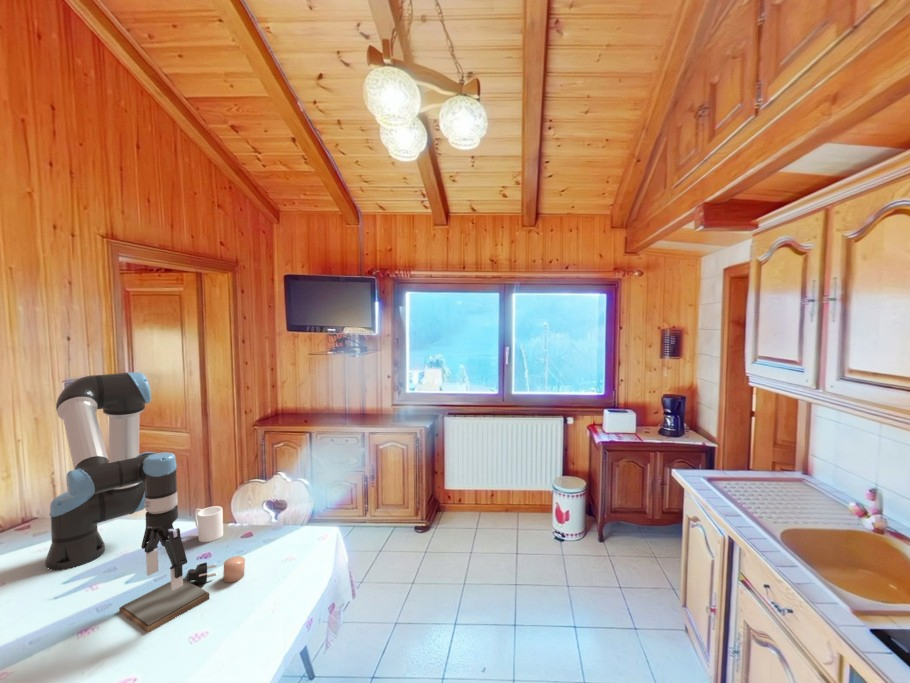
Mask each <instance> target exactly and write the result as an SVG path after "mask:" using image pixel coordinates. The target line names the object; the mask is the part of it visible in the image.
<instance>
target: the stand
mask: <svg viewBox="0 0 910 683" xmlns="http://www.w3.org/2000/svg"><path fill="white" fill-rule="evenodd" d="M208 600H210V593H209V592H208V591H206V590H204V589H203V588H201V587H199V586H197V585H196V584H194V583H192V582H191V581H190V582H188V579H185V578H183V586H181V587H179V588H177V589H175V590H173V591H172V590H171V580H170V581H168V582H166V583H165V584H162V585H160V586H158V587H157V588H155V589H152V590H151V591H149V592H147V593H145V594H143V595H141V596H139V597H137V598H135V599H132V600H131V601H129V602H128V603H127V602H126V603H125V604H123V605H122V606H120V607H119V613H120V614H122V615H123V616H125V617H126V618H127V619H129V620H130V621H131V622H132V623H134V624H135V625H136V626H137V627H138V628H140V629H142V630H143V631H144V632H145V633H147V634H149V633H150V632H152V631H155V630H156V629H158V628H160V627H162V626H163V625H165V624H167V623H170V622H171V621H172V620H174V619H176V618H178V617H180V616H181V615H183V614H185V613H187V612H189V611H190V610H192V609H194V608H196V607H197V606H199V605H201V604H203V603H205V602H206V601H208ZM188 610H189V611H188ZM179 615H180V616H179ZM177 616H178V617H177ZM175 617H176V618H175ZM161 625H162V626H161Z"/></svg>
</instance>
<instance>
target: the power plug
mask: <svg viewBox="0 0 910 683" xmlns="http://www.w3.org/2000/svg"><path fill="white" fill-rule="evenodd" d="M216 567H217V564H212V565H208V563H207V562H203V563H199V564H197V565H196V568H195V569H194V568H190V569H189V570H188V571H187V581H188V582H190V583H191V581H195V582H196V584H197V585H201V584H206V583H207V581H208V578H211V577H215V576H217V573H216V572H215V573H210V574H208V570H209V569H213V568H216Z"/></svg>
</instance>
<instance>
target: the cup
mask: <svg viewBox="0 0 910 683" xmlns="http://www.w3.org/2000/svg"><path fill="white" fill-rule="evenodd" d="M223 512H224V511H223V507H222V506H219V505H216V506H215V505H214V506H209V507H205V508H196V509H195V510H194V523H195V527H196V528H197V532H198V535H197V536H198V537H197V538H198V541H199V542H200V543H210V542H211V543H212V542H214V541H216V540H217V541H218V540H219V539H220V538H222V537H223V536H224V517H223V516H224V515H223V514H224V513H223Z"/></svg>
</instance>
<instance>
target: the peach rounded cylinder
mask: <svg viewBox="0 0 910 683" xmlns="http://www.w3.org/2000/svg"><path fill="white" fill-rule="evenodd" d="M245 565H246V559H245V557H243V556H232V557H229V558H227V559H226V560H225V561H224V562H223V572H222V573H223V575H222V577H223V578H222V579H223V581H224V582H225V583H230V584H231V583H235V582H238V581H240V580H242V579H243V578H244V576H245V568H246V566H245Z"/></svg>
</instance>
